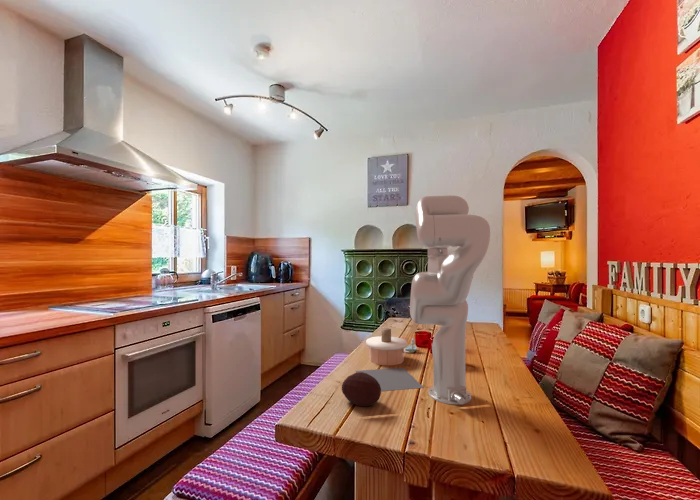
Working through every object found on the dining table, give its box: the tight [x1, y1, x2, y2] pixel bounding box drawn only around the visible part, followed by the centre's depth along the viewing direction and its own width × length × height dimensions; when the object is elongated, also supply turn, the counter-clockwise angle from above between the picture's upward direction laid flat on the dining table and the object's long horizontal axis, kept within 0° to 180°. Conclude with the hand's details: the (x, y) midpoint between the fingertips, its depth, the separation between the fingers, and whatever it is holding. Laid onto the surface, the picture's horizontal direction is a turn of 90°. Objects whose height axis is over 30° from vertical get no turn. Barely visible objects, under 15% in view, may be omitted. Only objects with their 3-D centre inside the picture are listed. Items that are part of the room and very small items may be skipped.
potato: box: [341, 372, 382, 407], centre depth 91 cm, size 9×12×9 cm
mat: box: [355, 367, 425, 392], centre depth 109 cm, size 19×19×1 cm
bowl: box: [368, 347, 405, 366], centre depth 130 cm, size 14×14×7 cm
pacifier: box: [404, 337, 418, 353], centre depth 143 cm, size 7×6×6 cm
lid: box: [365, 327, 408, 350], centre depth 130 cm, size 17×17×6 cm
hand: (438, 297), depth 121 cm, fingers open, 9 cm apart
